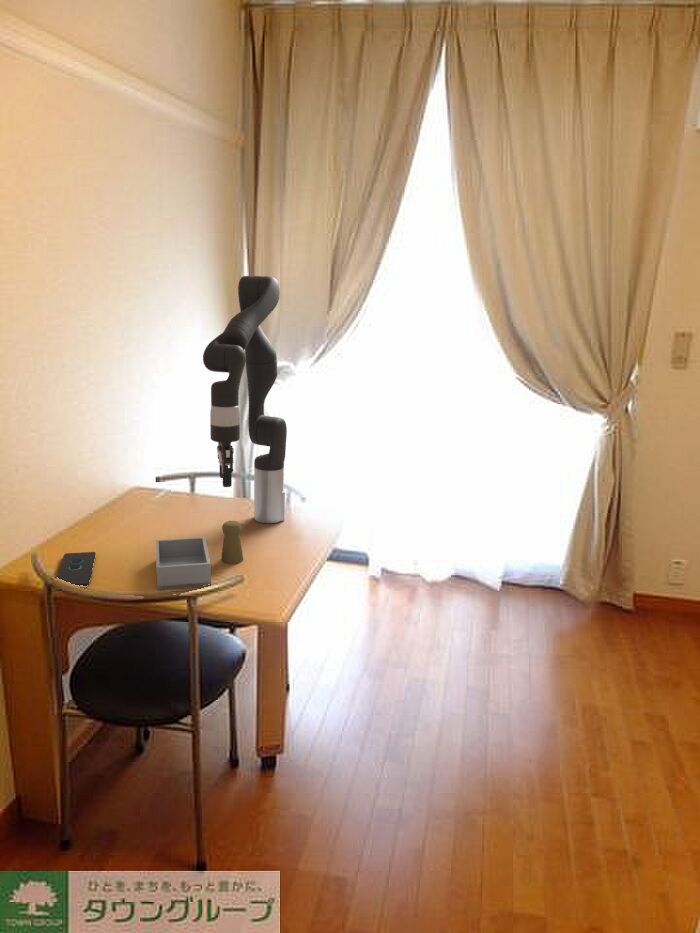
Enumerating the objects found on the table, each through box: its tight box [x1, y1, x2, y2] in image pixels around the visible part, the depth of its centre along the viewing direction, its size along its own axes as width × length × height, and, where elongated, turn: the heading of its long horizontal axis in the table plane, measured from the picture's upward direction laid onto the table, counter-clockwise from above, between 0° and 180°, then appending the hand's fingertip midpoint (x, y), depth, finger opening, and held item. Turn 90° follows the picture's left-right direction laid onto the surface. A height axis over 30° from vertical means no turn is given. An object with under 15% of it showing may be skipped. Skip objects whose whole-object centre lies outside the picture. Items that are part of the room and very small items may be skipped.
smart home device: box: [55, 551, 97, 586], centre depth 178 cm, size 8×2×20 cm
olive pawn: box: [220, 520, 244, 565], centre depth 188 cm, size 6×6×11 cm
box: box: [155, 536, 212, 591], centre depth 179 cm, size 13×18×6 cm
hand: (225, 481), depth 183 cm, fingers open, 8 cm apart
